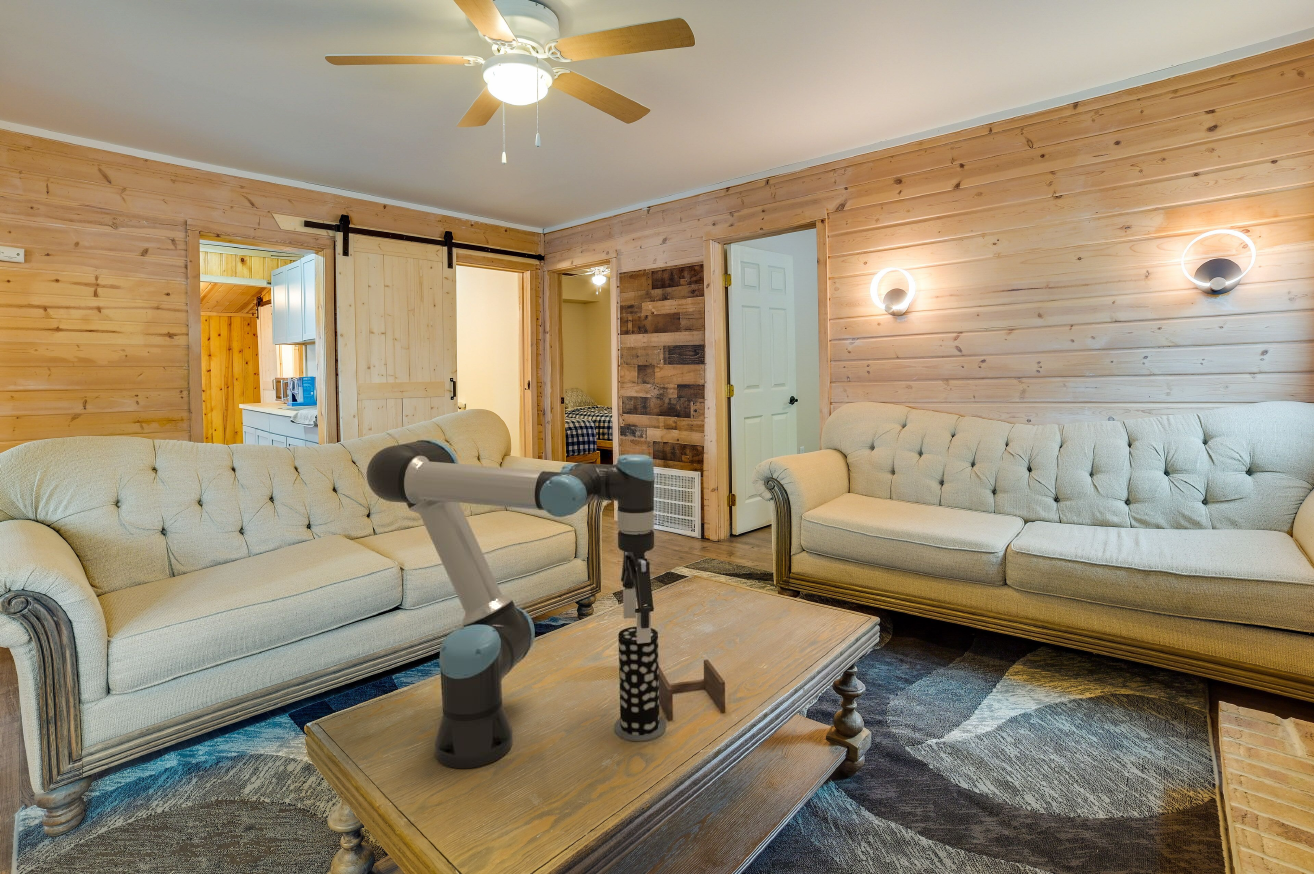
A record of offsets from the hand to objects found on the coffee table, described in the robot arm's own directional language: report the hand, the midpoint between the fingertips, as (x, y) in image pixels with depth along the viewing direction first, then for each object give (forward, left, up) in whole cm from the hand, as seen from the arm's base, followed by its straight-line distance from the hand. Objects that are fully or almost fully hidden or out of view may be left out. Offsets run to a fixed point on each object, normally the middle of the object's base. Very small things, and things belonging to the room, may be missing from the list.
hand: (636, 629), depth 138 cm
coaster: (0, 0, -22) cm, 22 cm away
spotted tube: (0, 0, -21) cm, 21 cm away
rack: (+13, +7, -22) cm, 26 cm away
